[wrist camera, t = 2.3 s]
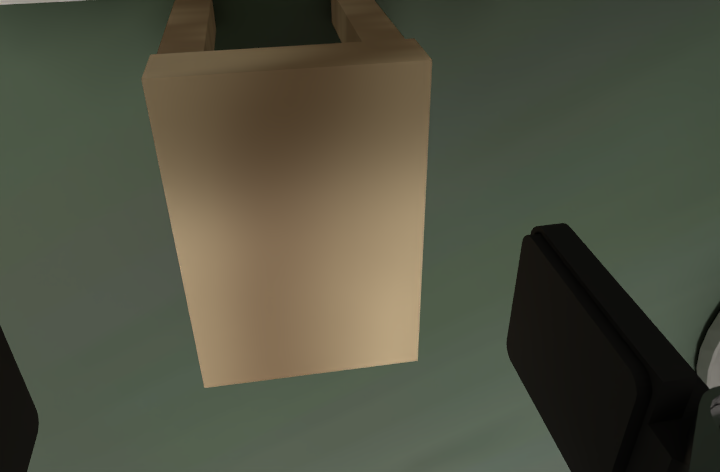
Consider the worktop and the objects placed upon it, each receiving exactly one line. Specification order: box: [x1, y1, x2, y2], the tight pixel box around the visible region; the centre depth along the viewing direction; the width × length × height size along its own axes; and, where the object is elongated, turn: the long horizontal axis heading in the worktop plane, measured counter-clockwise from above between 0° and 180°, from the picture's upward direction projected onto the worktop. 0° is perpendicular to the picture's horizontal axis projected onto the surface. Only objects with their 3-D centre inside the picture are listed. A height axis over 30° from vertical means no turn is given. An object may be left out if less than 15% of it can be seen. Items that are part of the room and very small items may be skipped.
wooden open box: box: [141, 0, 432, 388], centre depth 18 cm, size 6×8×8 cm
